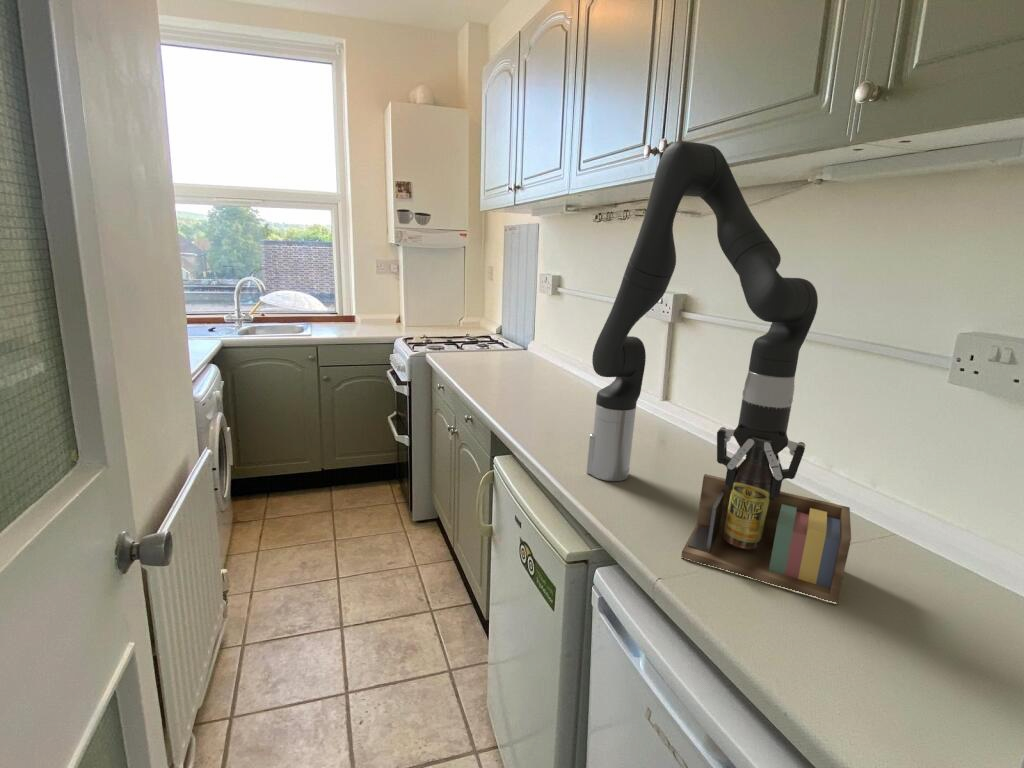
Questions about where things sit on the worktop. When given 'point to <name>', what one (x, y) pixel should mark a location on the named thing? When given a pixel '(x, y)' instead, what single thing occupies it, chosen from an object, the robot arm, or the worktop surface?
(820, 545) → the book row
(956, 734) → the worktop surface
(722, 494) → the bookend
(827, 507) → the shelf
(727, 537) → the sauce bottle
